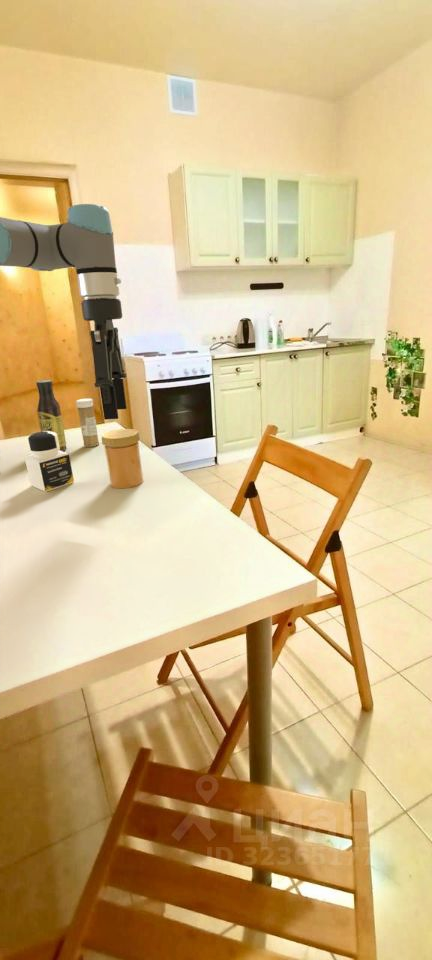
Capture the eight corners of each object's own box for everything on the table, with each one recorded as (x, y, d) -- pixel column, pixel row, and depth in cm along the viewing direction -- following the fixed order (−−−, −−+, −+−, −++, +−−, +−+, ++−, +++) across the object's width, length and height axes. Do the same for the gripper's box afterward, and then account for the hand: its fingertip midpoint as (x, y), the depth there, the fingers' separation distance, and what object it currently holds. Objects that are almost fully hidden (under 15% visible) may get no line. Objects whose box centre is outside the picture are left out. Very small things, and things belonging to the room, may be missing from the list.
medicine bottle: (45, 492, 97) (34, 439, 93) (30, 486, 102) (18, 434, 98) (74, 482, 102) (65, 431, 98) (59, 476, 107) (49, 427, 102)
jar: (103, 486, 99) (96, 440, 95) (125, 475, 104) (118, 431, 101) (129, 490, 95) (122, 442, 91) (149, 478, 101) (144, 433, 97)
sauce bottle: (40, 452, 127) (25, 382, 120) (58, 446, 132) (45, 378, 125) (54, 455, 124) (39, 383, 117) (72, 449, 129) (59, 379, 122)
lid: (146, 438, 98) (145, 430, 97) (122, 448, 91) (121, 439, 91) (119, 435, 102) (118, 427, 101) (94, 445, 95) (93, 436, 95)
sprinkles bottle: (81, 445, 132) (73, 399, 127) (96, 442, 134) (89, 397, 130) (86, 448, 129) (78, 401, 124) (101, 445, 131) (94, 399, 126)
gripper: (107, 295, 76) (124, 424, 84) (129, 298, 96) (141, 402, 104) (64, 298, 76) (85, 427, 84) (94, 300, 96) (109, 404, 105)
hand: (116, 413), depth 94 cm, fingers open, 9 cm apart
